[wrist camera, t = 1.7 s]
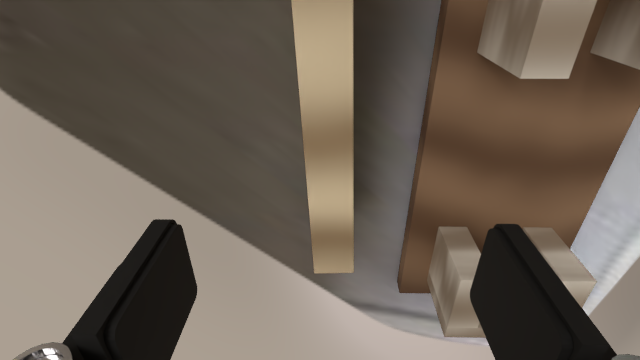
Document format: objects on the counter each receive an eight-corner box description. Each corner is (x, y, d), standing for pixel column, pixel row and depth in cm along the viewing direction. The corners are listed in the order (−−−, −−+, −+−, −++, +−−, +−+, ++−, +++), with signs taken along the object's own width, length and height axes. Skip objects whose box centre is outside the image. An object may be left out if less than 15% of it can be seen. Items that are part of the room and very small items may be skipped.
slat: (296, -80, 17) (283, -98, 12) (345, -84, 17) (353, -102, 12) (316, 213, 27) (314, 273, 22) (348, 212, 27) (353, 272, 22)
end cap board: (458, -110, 16) (521, -145, 11) (722, -113, 16) (913, -149, 11) (397, 281, 30) (411, 349, 25) (539, 283, 30) (585, 352, 25)
